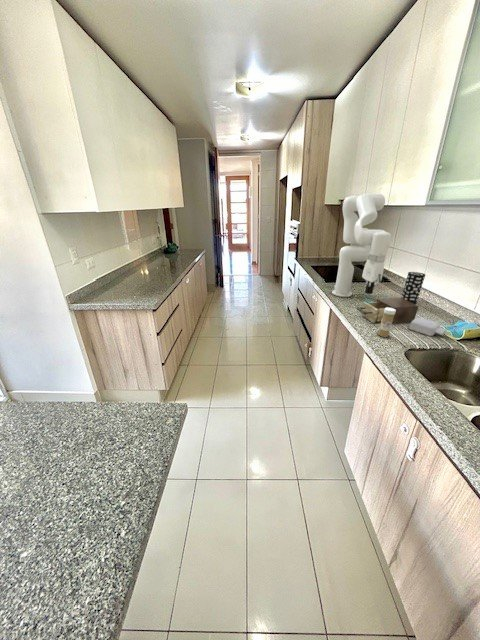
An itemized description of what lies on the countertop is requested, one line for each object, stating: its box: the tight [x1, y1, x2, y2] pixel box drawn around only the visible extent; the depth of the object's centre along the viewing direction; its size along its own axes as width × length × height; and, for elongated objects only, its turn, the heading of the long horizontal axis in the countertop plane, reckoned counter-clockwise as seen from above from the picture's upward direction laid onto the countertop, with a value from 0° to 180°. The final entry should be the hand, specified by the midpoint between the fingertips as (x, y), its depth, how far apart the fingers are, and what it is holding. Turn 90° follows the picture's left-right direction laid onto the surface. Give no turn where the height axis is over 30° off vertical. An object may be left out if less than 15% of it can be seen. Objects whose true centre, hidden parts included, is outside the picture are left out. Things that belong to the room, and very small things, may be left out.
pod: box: [363, 298, 375, 303], centre depth 151 cm, size 4×4×5 cm
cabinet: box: [376, 297, 419, 325], centre depth 138 cm, size 15×13×9 cm
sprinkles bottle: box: [377, 307, 396, 338], centre depth 119 cm, size 5×5×14 cm
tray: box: [356, 301, 390, 324], centre depth 136 cm, size 18×11×7 cm, turn 99°
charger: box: [409, 316, 451, 337], centre depth 124 cm, size 5×9×15 cm
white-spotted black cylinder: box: [400, 271, 426, 305], centre depth 151 cm, size 8×8×20 cm
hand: (368, 293), depth 136 cm, fingers closed
